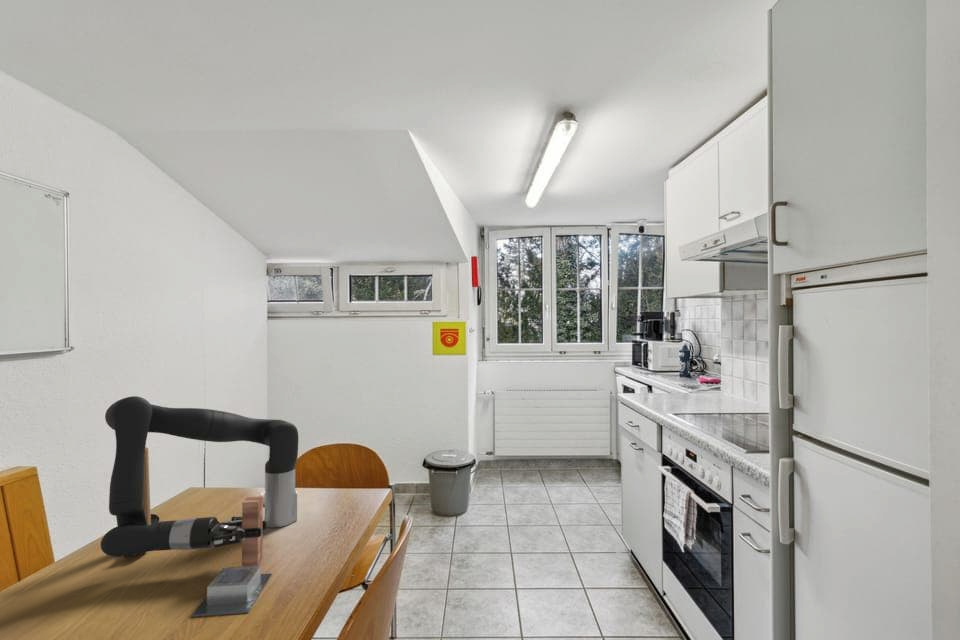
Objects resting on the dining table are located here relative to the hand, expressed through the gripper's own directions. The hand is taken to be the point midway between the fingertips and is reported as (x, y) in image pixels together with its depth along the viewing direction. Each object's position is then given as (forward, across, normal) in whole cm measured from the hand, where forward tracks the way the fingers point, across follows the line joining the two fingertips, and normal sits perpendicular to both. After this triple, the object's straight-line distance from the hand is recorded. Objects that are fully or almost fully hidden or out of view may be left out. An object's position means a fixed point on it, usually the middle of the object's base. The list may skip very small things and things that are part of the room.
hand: (263, 528), depth 123 cm
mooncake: (-9, +51, +10) cm, 53 cm away
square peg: (-3, 0, +10) cm, 10 cm away
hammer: (-39, +19, +10) cm, 44 cm away
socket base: (-3, -13, +11) cm, 17 cm away
